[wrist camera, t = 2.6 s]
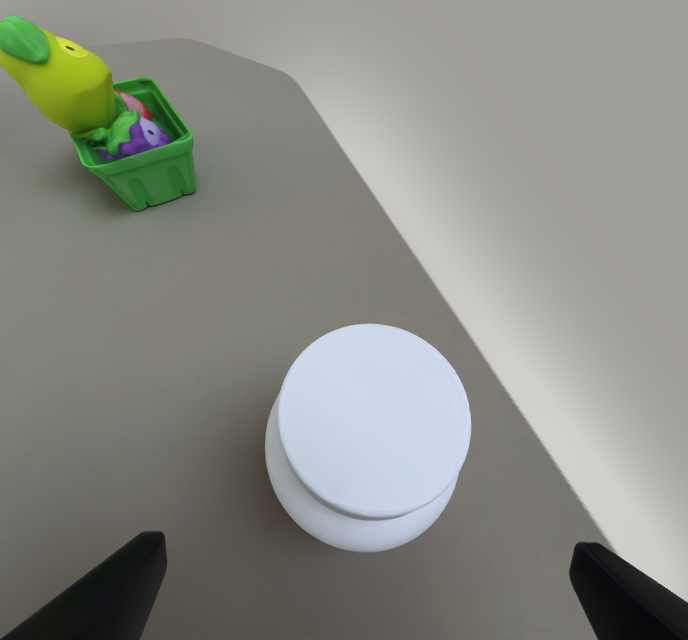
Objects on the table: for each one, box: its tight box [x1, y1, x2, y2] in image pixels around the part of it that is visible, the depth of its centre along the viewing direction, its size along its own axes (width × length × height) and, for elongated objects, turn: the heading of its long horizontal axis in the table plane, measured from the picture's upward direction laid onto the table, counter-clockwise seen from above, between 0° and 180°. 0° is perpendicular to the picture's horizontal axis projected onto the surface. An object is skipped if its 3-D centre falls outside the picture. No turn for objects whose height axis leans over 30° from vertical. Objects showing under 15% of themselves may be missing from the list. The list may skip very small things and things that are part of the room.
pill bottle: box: [265, 324, 471, 552], centre depth 13 cm, size 6×6×11 cm
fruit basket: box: [0, 16, 196, 211], centre depth 25 cm, size 11×9×11 cm
